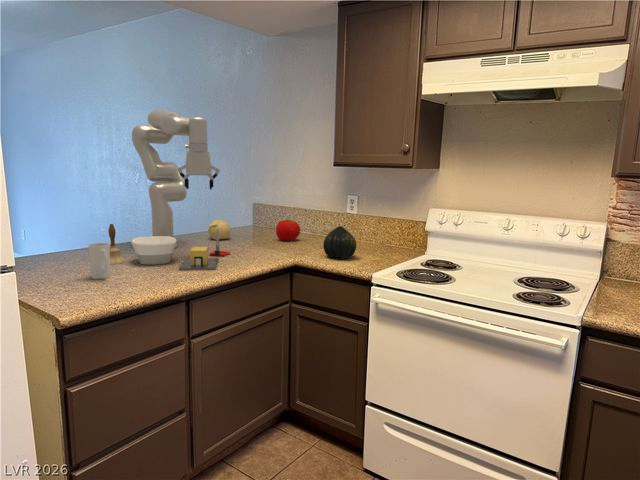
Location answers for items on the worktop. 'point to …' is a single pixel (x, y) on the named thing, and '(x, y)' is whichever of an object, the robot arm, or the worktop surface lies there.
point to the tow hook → (217, 251)
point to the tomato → (287, 230)
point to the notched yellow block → (199, 254)
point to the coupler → (199, 264)
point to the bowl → (154, 249)
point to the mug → (99, 260)
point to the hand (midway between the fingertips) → (199, 189)
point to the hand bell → (114, 248)
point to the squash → (339, 243)
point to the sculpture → (223, 229)
